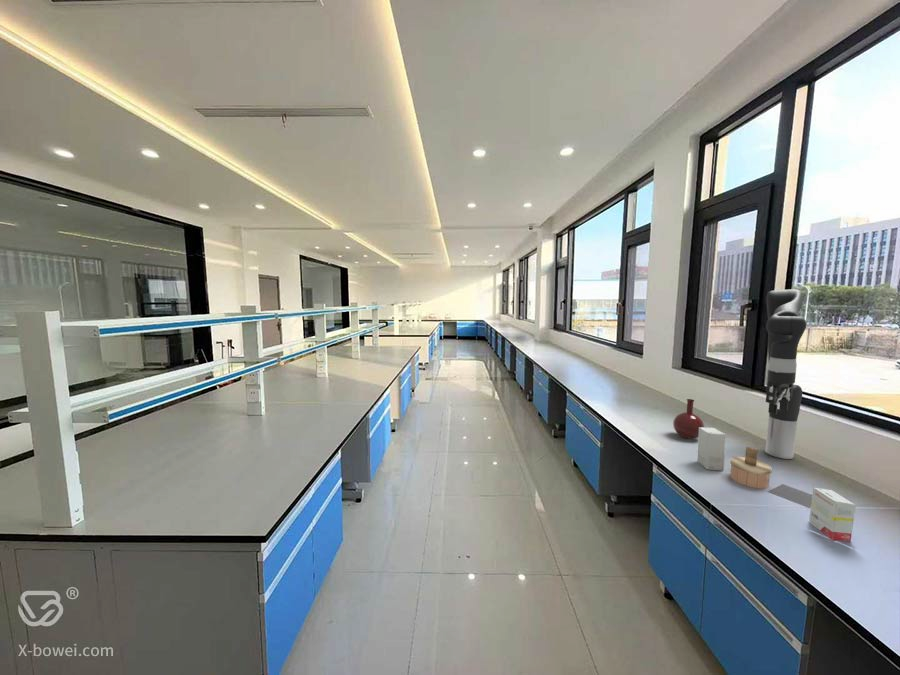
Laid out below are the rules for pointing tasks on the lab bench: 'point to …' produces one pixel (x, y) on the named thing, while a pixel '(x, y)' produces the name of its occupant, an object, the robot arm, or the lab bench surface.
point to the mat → (793, 495)
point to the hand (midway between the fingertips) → (778, 411)
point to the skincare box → (711, 448)
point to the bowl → (749, 478)
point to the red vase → (688, 422)
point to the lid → (751, 462)
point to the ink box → (832, 514)
